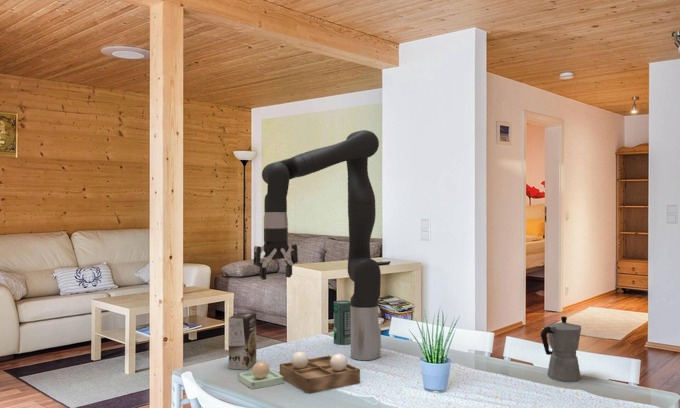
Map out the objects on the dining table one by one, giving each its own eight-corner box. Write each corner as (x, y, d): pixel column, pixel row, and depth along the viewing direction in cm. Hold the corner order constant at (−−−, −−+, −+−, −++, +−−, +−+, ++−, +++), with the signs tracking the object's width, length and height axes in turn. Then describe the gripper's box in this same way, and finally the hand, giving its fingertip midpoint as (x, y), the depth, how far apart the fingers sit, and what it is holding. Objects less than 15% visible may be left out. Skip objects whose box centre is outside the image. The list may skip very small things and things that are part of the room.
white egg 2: (341, 367, 177) (341, 350, 177) (350, 371, 172) (350, 354, 172) (326, 370, 174) (326, 353, 174) (335, 374, 170) (335, 357, 170)
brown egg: (265, 374, 177) (264, 358, 177) (272, 379, 173) (272, 362, 172) (249, 377, 174) (249, 361, 174) (256, 382, 170) (256, 365, 170)
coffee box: (247, 370, 185) (247, 318, 184) (227, 369, 186) (227, 317, 186) (257, 362, 194) (257, 312, 193) (238, 361, 195) (238, 311, 195)
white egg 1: (303, 365, 179) (303, 348, 179) (311, 369, 175) (311, 352, 175) (288, 367, 177) (288, 350, 177) (296, 371, 172) (296, 354, 172)
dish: (269, 374, 180) (269, 368, 180) (283, 383, 172) (283, 376, 172) (238, 379, 175) (238, 373, 175) (251, 389, 167) (251, 382, 167)
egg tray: (329, 368, 186) (329, 355, 186) (359, 382, 172) (359, 369, 172) (279, 377, 177) (279, 364, 177) (307, 393, 163) (307, 379, 163)
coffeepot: (567, 370, 183) (567, 311, 183) (592, 378, 175) (593, 317, 175) (529, 376, 177) (529, 316, 176) (553, 386, 168) (554, 322, 168)
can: (340, 339, 222) (340, 299, 222) (354, 342, 219) (353, 301, 218) (330, 343, 217) (330, 302, 217) (344, 345, 214) (344, 304, 214)
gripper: (290, 225, 193) (290, 275, 194) (249, 226, 186) (250, 278, 186) (301, 226, 187) (301, 278, 187) (259, 228, 180) (260, 281, 180)
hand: (276, 278), depth 187 cm, fingers open, 8 cm apart
